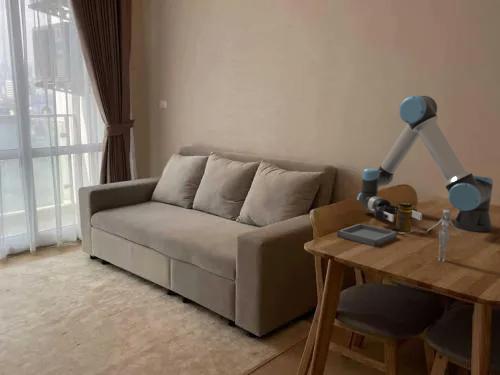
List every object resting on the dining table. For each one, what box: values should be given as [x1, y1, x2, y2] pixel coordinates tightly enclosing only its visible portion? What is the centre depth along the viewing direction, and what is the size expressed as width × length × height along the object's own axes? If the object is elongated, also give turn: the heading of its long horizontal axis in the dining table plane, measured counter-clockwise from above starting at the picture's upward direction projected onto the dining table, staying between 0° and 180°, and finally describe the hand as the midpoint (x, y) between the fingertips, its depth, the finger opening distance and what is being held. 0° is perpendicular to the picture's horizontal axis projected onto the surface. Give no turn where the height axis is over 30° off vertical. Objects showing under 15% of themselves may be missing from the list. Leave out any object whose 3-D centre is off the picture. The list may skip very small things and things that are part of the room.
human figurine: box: [427, 209, 464, 262], centre depth 170 cm, size 12×4×18 cm, turn 64°
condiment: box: [387, 201, 415, 235], centre depth 206 cm, size 7×8×12 cm
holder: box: [337, 223, 398, 247], centre depth 196 cm, size 17×17×2 cm
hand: (407, 217), depth 203 cm, fingers open, 13 cm apart
